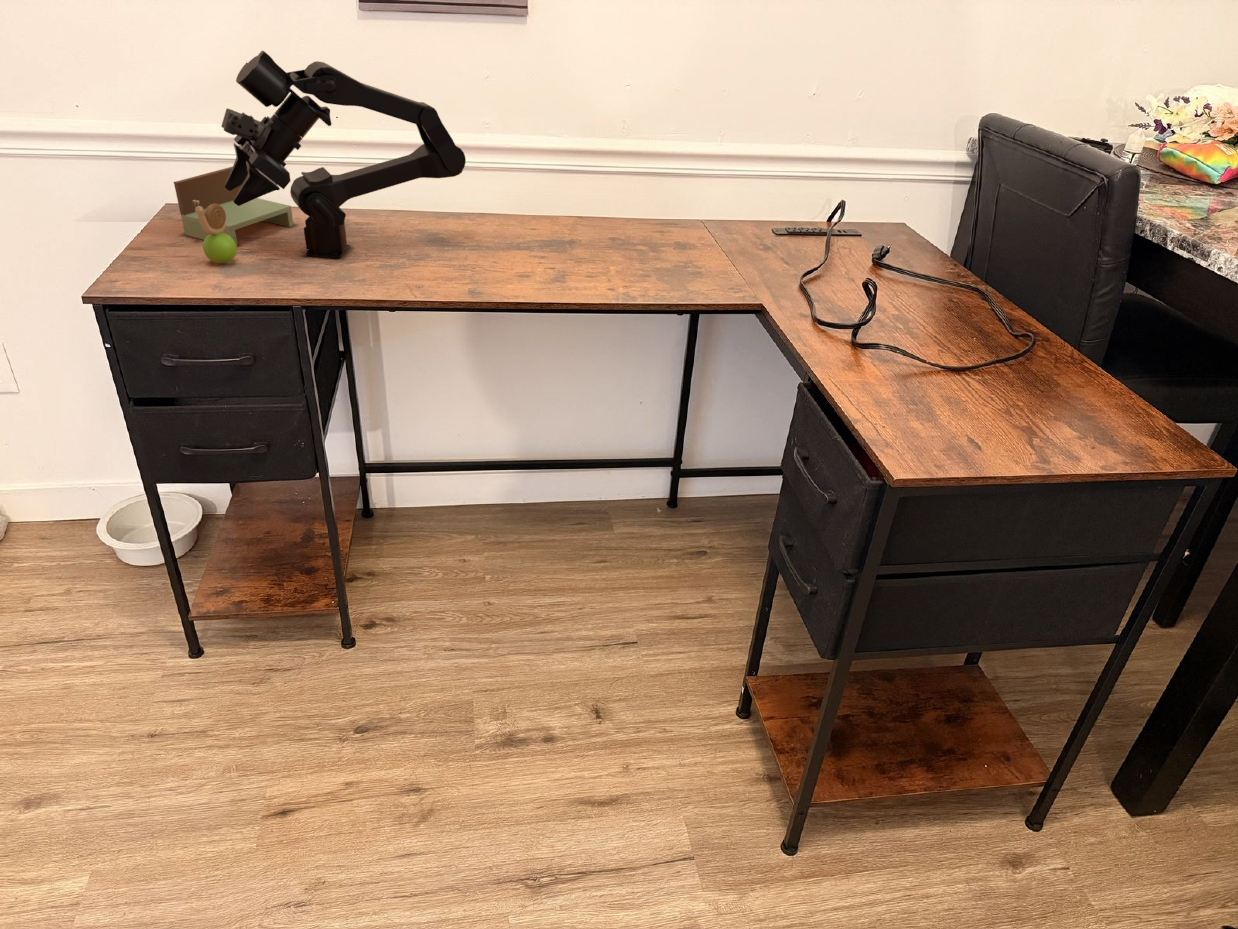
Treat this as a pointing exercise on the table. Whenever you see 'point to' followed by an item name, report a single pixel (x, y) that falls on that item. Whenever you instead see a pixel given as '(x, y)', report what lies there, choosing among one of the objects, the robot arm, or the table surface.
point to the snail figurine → (216, 234)
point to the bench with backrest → (224, 205)
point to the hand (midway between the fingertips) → (231, 196)
